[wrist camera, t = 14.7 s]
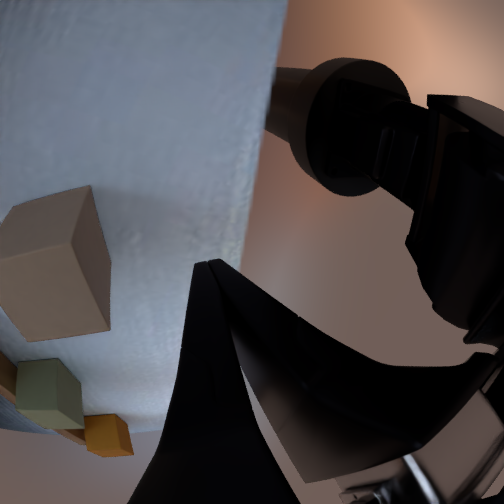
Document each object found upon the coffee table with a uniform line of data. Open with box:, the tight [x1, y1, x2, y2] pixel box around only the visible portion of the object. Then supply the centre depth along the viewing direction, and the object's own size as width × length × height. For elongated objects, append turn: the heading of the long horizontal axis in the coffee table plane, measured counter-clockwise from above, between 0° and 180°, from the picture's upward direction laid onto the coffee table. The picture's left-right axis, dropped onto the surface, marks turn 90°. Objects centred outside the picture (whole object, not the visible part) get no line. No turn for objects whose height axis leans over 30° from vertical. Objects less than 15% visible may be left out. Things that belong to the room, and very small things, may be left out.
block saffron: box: [84, 414, 134, 457], centre depth 20 cm, size 4×4×4 cm
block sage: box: [15, 358, 85, 429], centre depth 13 cm, size 4×4×4 cm
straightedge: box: [0, 351, 86, 445], centre depth 11 cm, size 2×30×2 cm, turn 176°
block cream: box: [0, 185, 111, 342], centre depth 8 cm, size 4×4×4 cm
